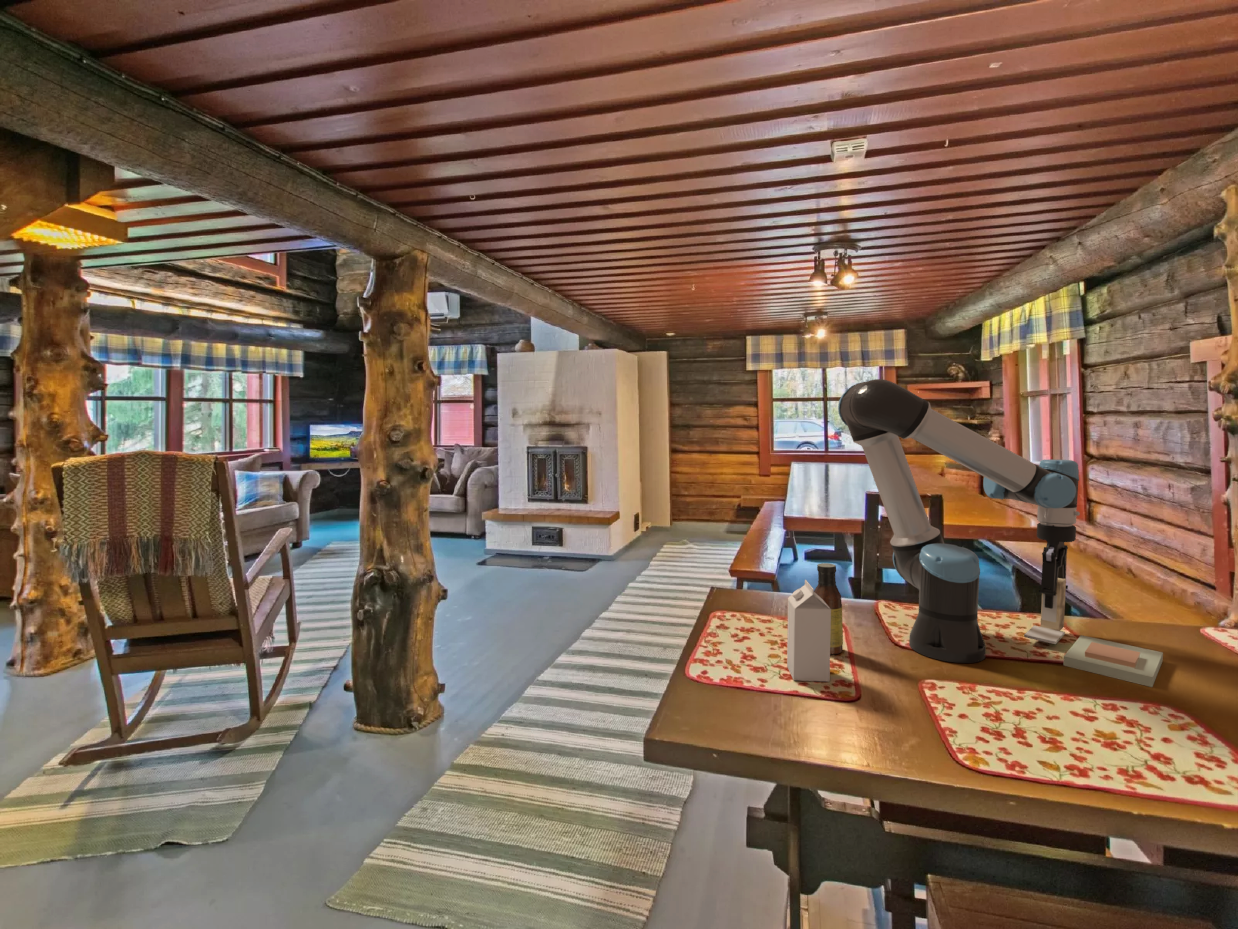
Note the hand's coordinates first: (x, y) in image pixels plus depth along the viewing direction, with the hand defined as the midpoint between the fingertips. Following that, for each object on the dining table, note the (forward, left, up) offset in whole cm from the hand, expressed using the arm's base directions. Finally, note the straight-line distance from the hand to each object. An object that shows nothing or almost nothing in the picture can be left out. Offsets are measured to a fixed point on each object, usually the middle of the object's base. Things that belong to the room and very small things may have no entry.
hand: (1052, 617), depth 140 cm
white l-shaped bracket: (-3, -3, -3) cm, 5 cm away
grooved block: (+1, -17, -4) cm, 18 cm away
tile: (0, -19, -1) cm, 19 cm away
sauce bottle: (-58, -12, -5) cm, 59 cm away
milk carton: (-66, -25, -5) cm, 70 cm away
